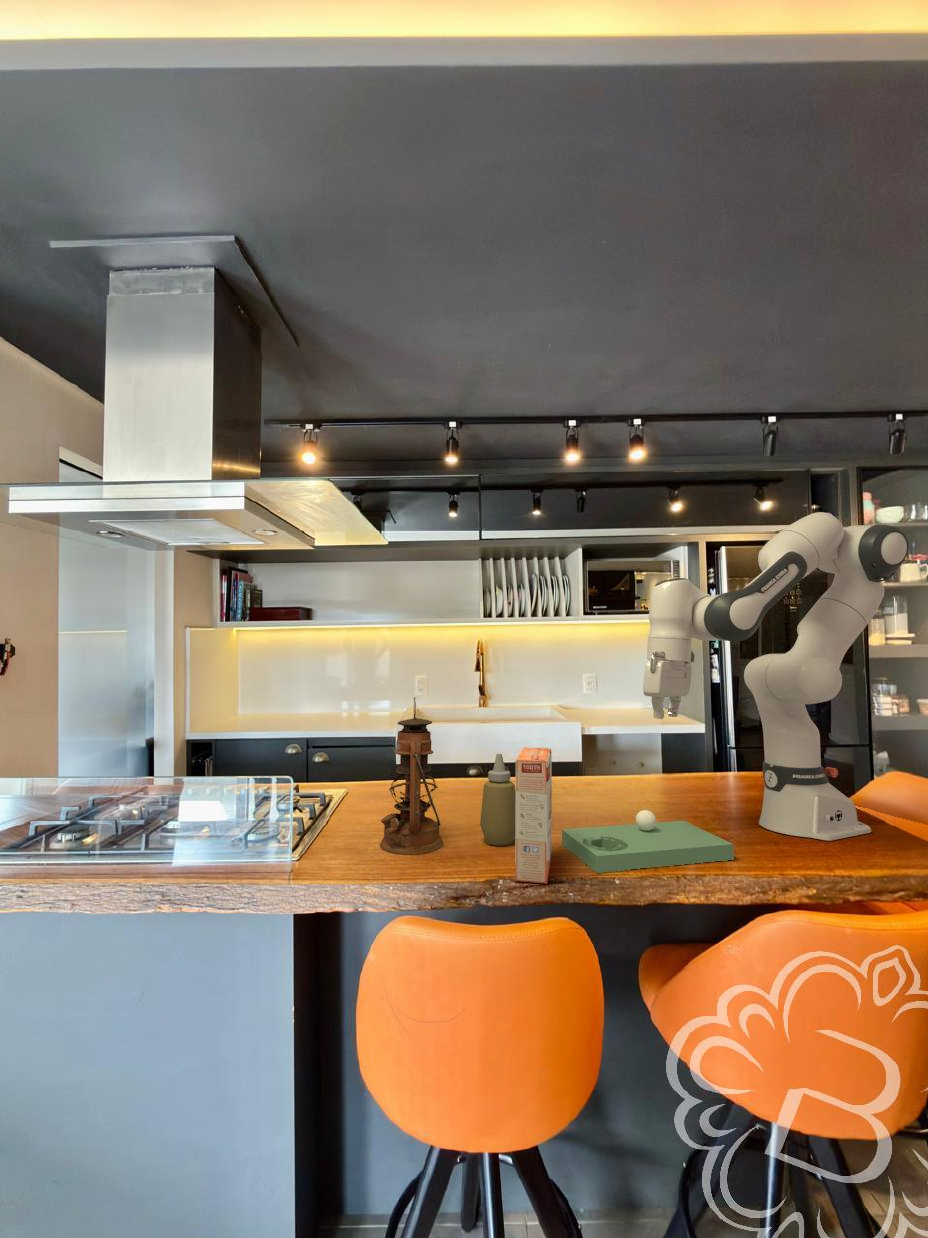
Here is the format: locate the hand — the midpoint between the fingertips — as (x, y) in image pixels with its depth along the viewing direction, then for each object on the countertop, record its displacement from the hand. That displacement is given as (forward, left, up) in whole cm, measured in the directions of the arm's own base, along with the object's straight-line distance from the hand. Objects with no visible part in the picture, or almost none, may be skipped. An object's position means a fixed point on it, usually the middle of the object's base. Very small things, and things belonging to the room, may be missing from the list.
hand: (666, 717), depth 122 cm
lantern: (+53, -9, -26) cm, 60 cm away
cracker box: (+33, +10, -26) cm, 43 cm away
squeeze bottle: (+35, -6, -26) cm, 44 cm away
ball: (+7, +3, -20) cm, 22 cm away
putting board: (+9, +6, -25) cm, 28 cm away
